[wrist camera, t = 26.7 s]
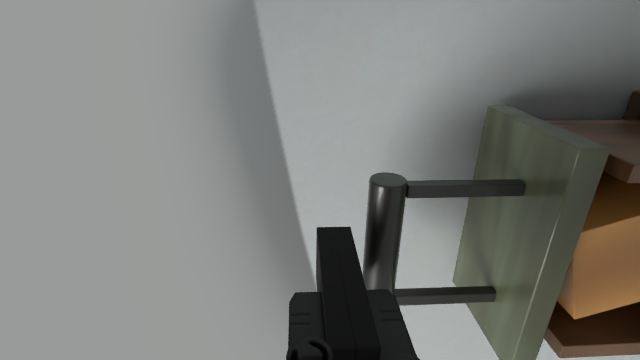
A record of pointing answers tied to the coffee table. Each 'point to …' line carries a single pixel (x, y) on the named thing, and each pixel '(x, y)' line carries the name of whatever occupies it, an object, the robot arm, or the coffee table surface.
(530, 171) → the drawer
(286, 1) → the coffee table surface
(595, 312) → the block
